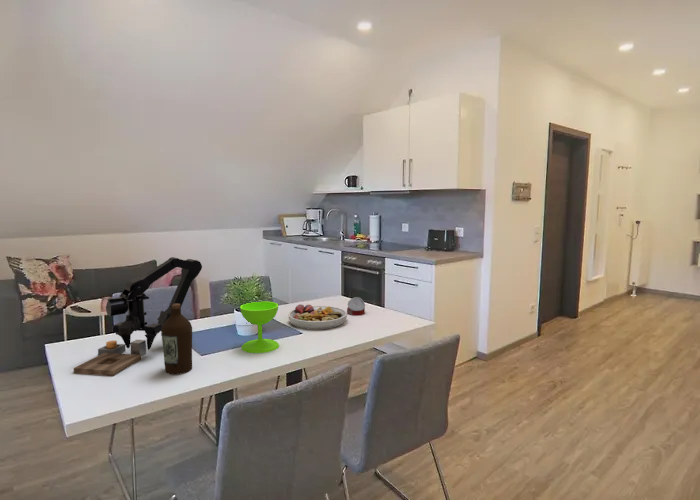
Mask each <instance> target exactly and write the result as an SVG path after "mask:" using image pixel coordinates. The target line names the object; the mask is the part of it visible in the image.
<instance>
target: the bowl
mask: <svg viewBox="0 0 700 500" xmlns="http://www.w3.org/2000/svg"><path fill="white" fill-rule="evenodd" d="M347 316H348V314H347V310H345V309H343V308H339V307H334V306H326V305H324V306H323V305H317V306H316V305H315V306H313V305H312V304H306V305H304V304H301V303H300V304H298V305H296V306H295V309H293V310H291V311H290V312H288V320H289V322H290V323H291V324H292V325H293V326H295V327H297V328H300V329H306V330H326V329H327V330H328V329H332V328H336V327H337V328H338V326H340V325H342V324H344V323H345V321H346V320H347Z"/></svg>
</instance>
